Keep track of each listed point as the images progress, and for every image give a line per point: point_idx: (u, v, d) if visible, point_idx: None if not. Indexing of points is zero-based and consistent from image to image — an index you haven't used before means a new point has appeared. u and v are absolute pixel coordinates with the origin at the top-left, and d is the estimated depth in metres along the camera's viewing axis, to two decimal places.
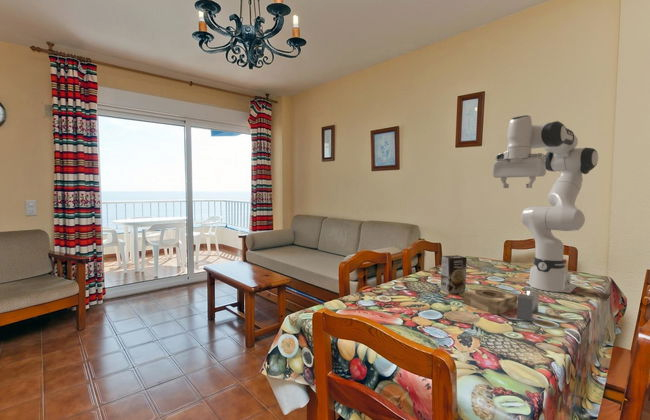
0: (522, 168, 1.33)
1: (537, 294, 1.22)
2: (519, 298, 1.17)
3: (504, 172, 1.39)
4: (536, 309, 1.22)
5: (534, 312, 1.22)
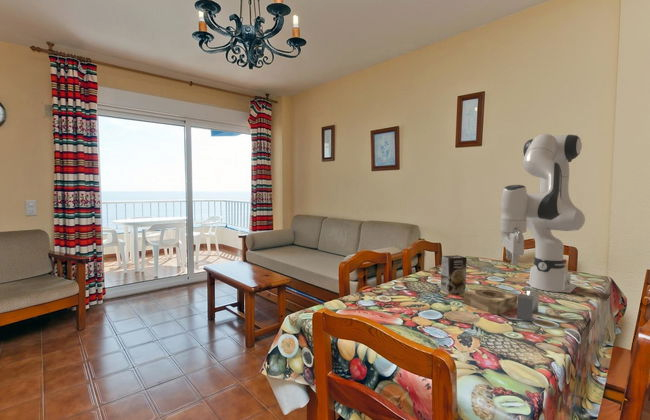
0: (509, 242, 1.24)
1: (537, 294, 1.22)
2: (519, 298, 1.17)
3: (504, 242, 1.31)
4: (536, 309, 1.22)
5: (534, 312, 1.22)
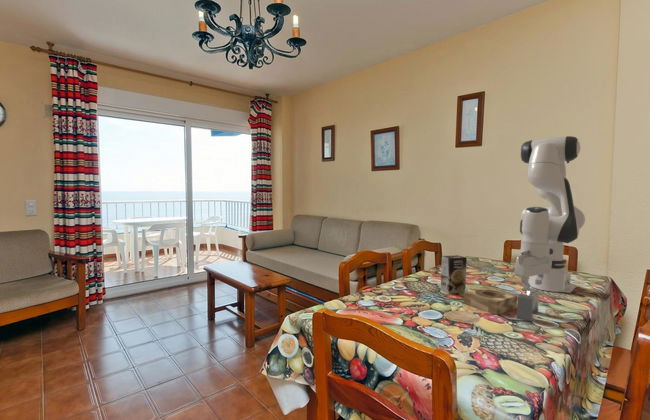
0: None
1: (537, 294, 1.22)
2: (519, 298, 1.17)
3: None
4: (536, 309, 1.22)
5: (534, 312, 1.22)
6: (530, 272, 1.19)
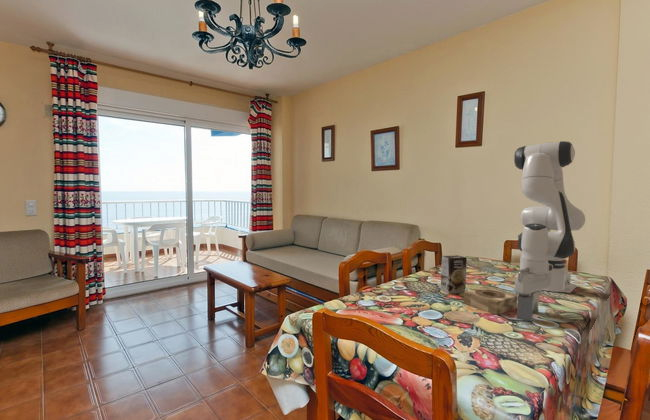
0: None
1: (537, 294, 1.22)
2: (519, 298, 1.17)
3: None
4: (536, 309, 1.22)
5: (534, 312, 1.22)
6: (530, 289, 1.19)
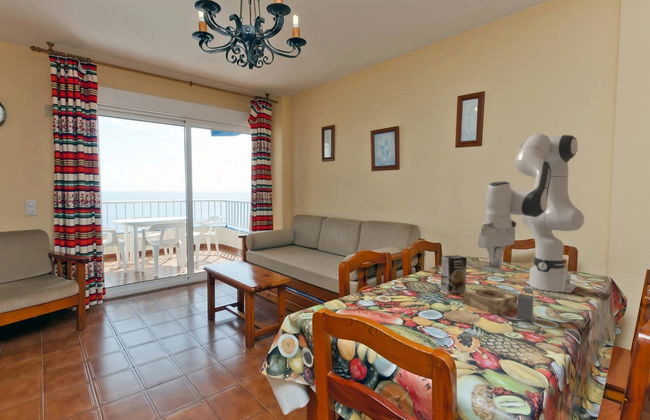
0: None
1: (500, 249, 1.26)
2: (519, 298, 1.17)
3: None
4: (499, 264, 1.26)
5: (497, 266, 1.26)
6: (492, 243, 1.23)
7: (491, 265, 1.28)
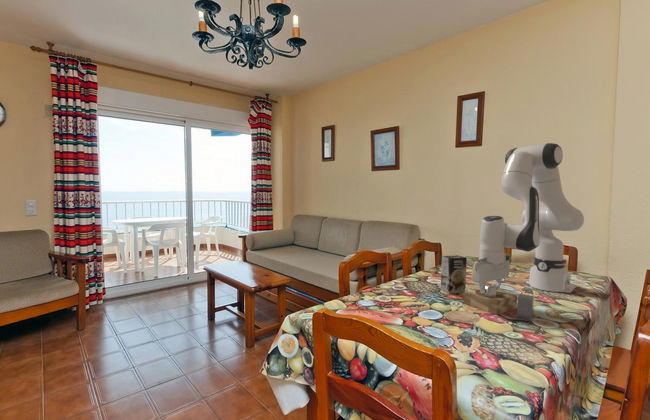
0: None
1: (494, 289, 1.28)
2: (519, 298, 1.17)
3: None
4: None
5: None
6: (486, 278, 1.25)
7: None
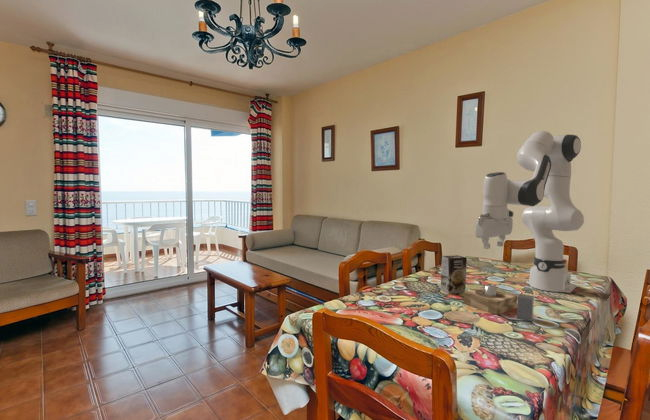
0: None
1: (494, 289, 1.28)
2: (519, 298, 1.17)
3: None
4: None
5: None
6: (490, 233, 1.26)
7: None
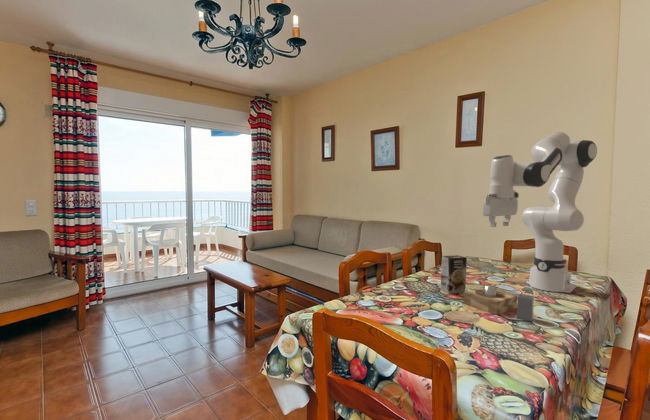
0: None
1: (494, 289, 1.28)
2: (519, 298, 1.17)
3: None
4: None
5: None
6: (496, 211, 1.33)
7: None
